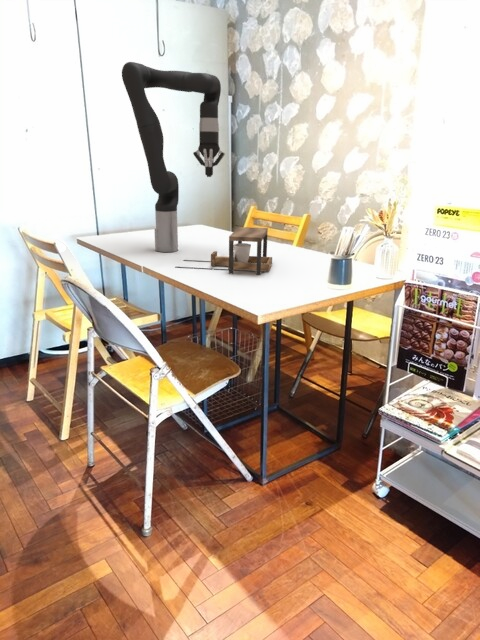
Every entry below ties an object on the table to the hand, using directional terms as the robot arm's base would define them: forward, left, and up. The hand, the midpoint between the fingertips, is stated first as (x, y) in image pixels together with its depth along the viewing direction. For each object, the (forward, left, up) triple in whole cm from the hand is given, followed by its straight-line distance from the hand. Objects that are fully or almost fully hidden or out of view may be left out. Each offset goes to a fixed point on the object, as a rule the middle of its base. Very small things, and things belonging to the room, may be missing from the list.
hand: (209, 176), depth 201 cm
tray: (+16, -19, -31) cm, 40 cm away
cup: (+16, -17, -32) cm, 40 cm away
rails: (+9, -19, -32) cm, 38 cm away
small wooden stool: (+19, -19, -32) cm, 42 cm away
